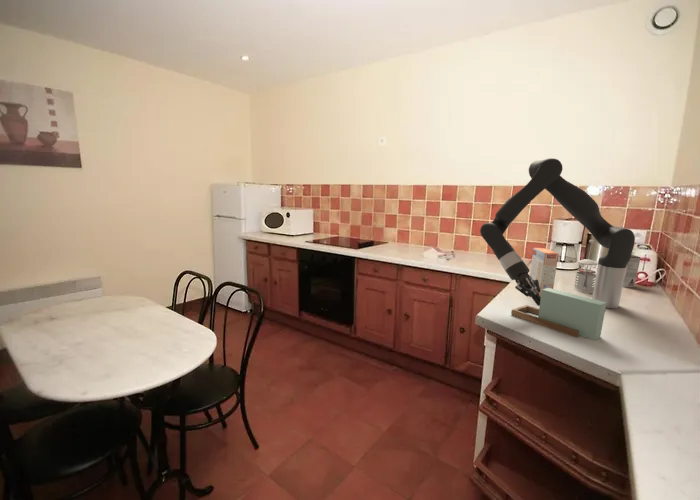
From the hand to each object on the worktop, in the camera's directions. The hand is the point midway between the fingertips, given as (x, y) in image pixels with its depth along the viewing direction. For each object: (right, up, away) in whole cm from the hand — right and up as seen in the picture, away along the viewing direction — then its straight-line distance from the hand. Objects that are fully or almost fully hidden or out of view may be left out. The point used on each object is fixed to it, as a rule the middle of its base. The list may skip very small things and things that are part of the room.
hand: (541, 304), depth 120 cm
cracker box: (+17, -1, +31) cm, 35 cm away
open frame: (+2, -6, -2) cm, 7 cm away
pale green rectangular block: (+5, -7, -7) cm, 11 cm away
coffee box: (+72, +2, +49) cm, 87 cm away
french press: (+43, 0, +38) cm, 58 cm away
